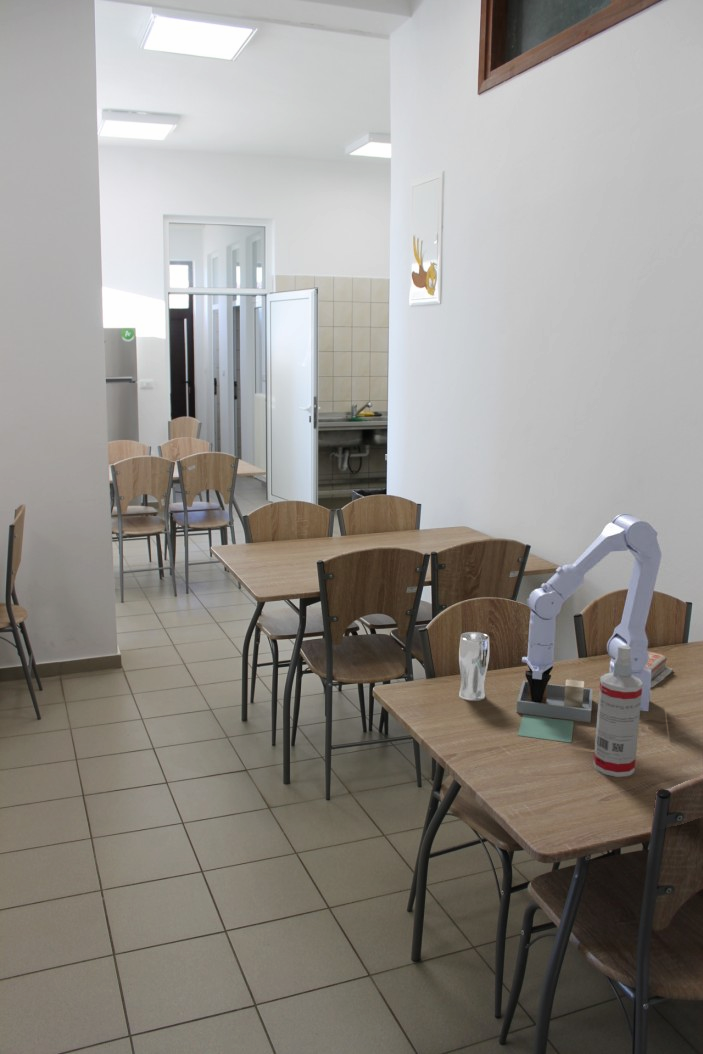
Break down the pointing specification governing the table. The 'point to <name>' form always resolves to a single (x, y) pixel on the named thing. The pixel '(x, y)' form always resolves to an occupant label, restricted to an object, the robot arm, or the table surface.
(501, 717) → the table surface
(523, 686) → the tray
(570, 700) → the birch block
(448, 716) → the table surface
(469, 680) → the beer glass
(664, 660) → the packaged product
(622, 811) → the table surface
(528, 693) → the walnut block
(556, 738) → the mat
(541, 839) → the table surface
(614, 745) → the spray bottle
